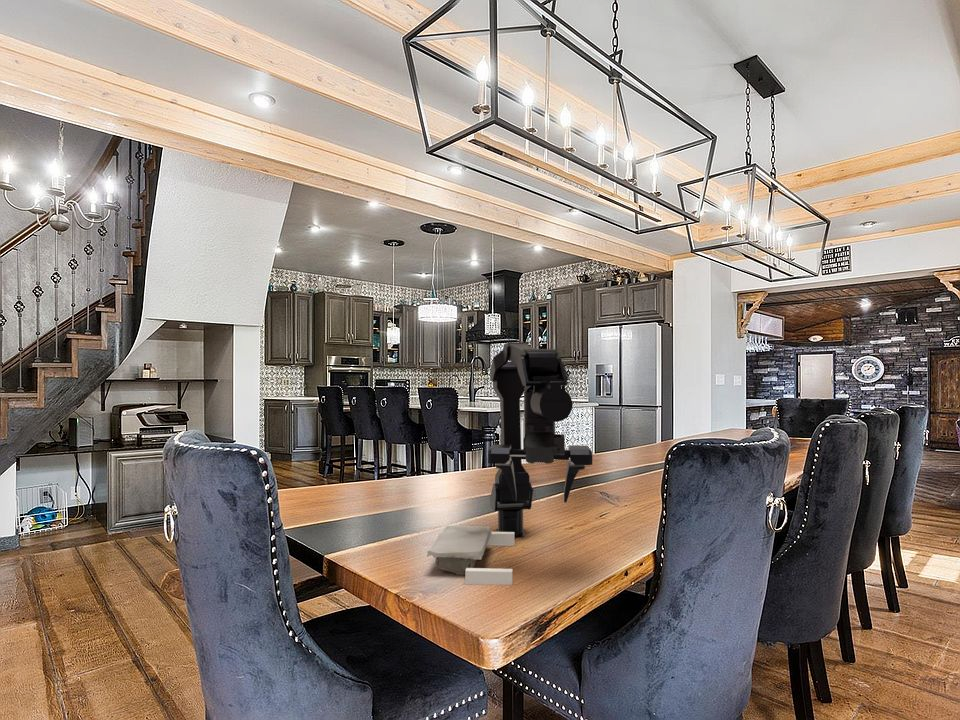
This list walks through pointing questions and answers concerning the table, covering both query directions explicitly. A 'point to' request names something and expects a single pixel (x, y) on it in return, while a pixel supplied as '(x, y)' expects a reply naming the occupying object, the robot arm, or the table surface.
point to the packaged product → (460, 547)
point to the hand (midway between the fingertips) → (540, 501)
